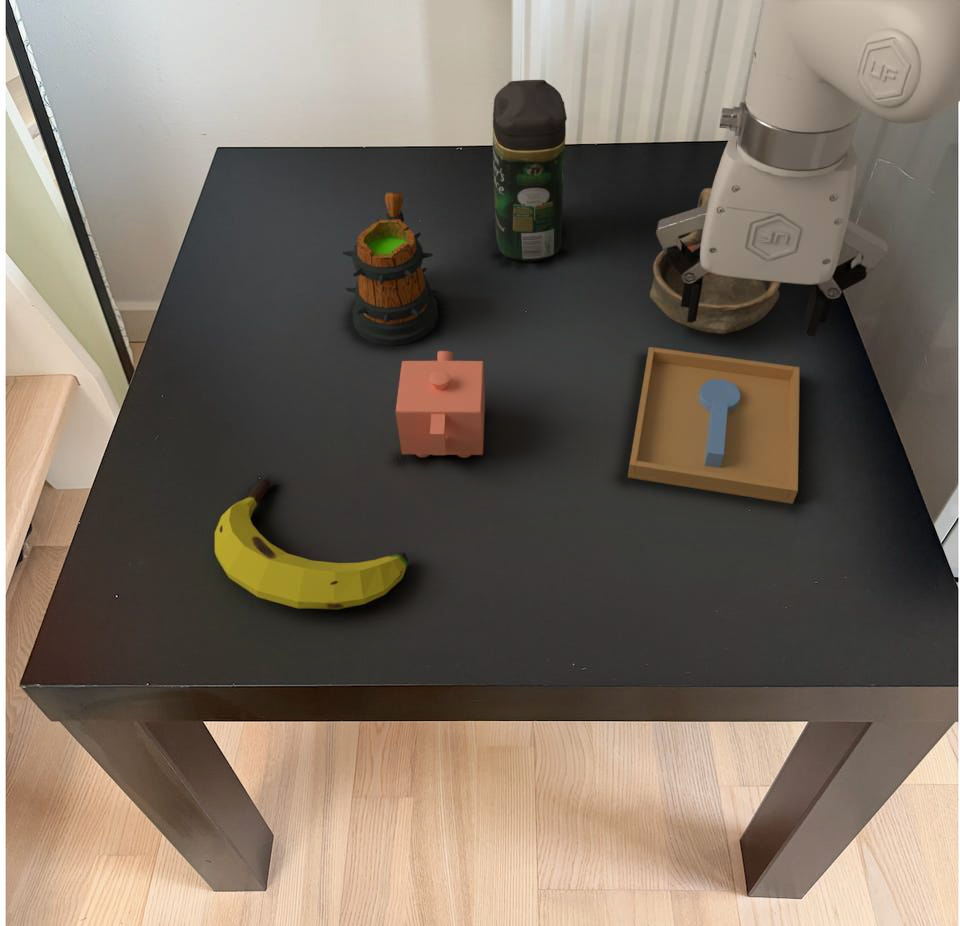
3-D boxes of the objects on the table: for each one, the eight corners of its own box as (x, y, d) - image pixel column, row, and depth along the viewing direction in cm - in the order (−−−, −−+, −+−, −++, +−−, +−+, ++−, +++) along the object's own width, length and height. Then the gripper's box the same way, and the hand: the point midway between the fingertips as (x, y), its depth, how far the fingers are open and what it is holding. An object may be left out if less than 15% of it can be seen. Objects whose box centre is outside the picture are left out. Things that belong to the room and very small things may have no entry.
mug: (436, 348, 98) (429, 262, 89) (343, 346, 99) (326, 260, 90) (447, 272, 106) (441, 186, 97) (361, 270, 107) (347, 184, 98)
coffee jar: (492, 217, 113) (489, 73, 98) (556, 214, 113) (562, 69, 98) (496, 267, 106) (494, 120, 92) (564, 263, 106) (571, 117, 92)
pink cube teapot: (486, 388, 94) (484, 328, 88) (482, 478, 86) (479, 420, 80) (411, 387, 94) (403, 328, 88) (400, 477, 87) (391, 419, 80)
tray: (794, 380, 93) (799, 367, 92) (792, 504, 83) (798, 490, 82) (646, 360, 96) (649, 346, 94) (627, 477, 86) (629, 464, 84)
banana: (403, 591, 74) (415, 468, 85) (189, 583, 73) (230, 461, 85) (403, 626, 77) (415, 503, 88) (198, 619, 76) (236, 496, 88)
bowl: (649, 353, 97) (661, 278, 89) (642, 250, 108) (652, 177, 100) (781, 356, 96) (804, 282, 88) (760, 253, 107) (779, 178, 99)
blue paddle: (733, 470, 85) (737, 456, 84) (690, 463, 86) (694, 449, 85) (739, 388, 92) (743, 374, 91) (700, 382, 93) (703, 368, 91)
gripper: (664, 148, 62) (641, 335, 75) (931, 170, 59) (859, 361, 72) (674, 94, 67) (651, 279, 80) (922, 112, 64) (856, 301, 77)
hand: (750, 318), depth 76 cm, fingers open, 9 cm apart
